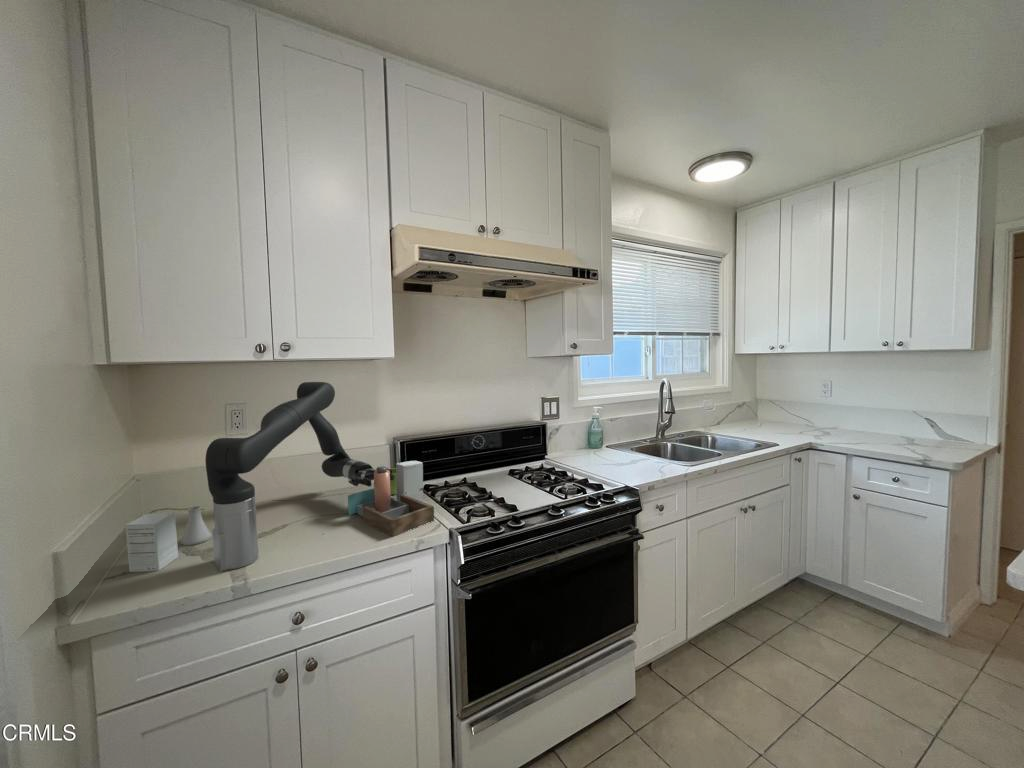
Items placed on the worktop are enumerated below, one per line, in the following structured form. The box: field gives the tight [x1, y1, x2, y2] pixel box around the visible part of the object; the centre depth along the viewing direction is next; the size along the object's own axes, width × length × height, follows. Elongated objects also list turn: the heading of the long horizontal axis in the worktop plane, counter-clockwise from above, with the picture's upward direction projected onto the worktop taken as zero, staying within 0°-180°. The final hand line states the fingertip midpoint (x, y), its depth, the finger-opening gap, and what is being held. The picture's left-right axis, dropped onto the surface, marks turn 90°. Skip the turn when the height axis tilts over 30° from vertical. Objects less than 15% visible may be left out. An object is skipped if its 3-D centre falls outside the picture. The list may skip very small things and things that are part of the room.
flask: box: [179, 505, 213, 546], centre depth 124 cm, size 7×7×10 cm
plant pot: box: [390, 467, 397, 496], centre depth 165 cm, size 9×9×9 cm
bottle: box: [373, 465, 392, 513], centre depth 143 cm, size 5×5×15 cm
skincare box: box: [395, 460, 424, 502], centre depth 155 cm, size 8×6×15 cm
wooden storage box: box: [362, 495, 435, 537], centre depth 137 cm, size 15×17×5 cm
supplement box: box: [124, 512, 179, 573], centre depth 110 cm, size 7×7×13 cm
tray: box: [347, 485, 409, 518], centre depth 144 cm, size 16×15×6 cm
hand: (381, 480), depth 143 cm, fingers open, 8 cm apart
